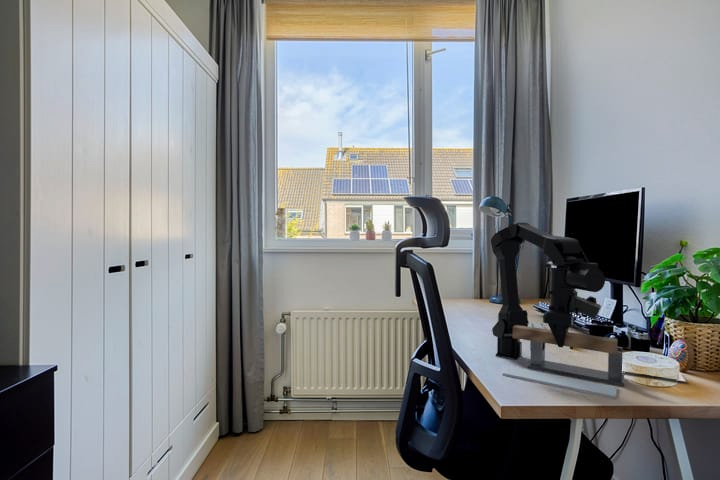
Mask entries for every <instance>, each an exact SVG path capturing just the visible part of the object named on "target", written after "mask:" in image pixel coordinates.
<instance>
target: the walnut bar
mask: <svg viewBox="0 0 720 480" xmlns="http://www.w3.org/2000/svg"><path fill="white" fill-rule="evenodd" d="M513 338H517V339H523V340H522V341H529V342H530V341H536V342H542V343H545V344H548V345H555V346H558V345H557V343H556V340H555V338H554V336H553V334H552V331H551V329H548V328H547V329H541V328H534V327H527V326H519V325H515V326H513ZM563 347H568V348H569V347H570V348H575V349H581V350H588V351H593V352H601V353H606V354H608V353H612V354H617V347H618V339H617V338H612V337H605V336H598V335H597V336H596V335H590V334H589V335H588V334H584V333H583V334H582V333H576V332H575V333H574V332H571V331H570V332H569V331H568V332H566V337H565V341H564V346H563Z"/></svg>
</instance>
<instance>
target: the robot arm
mask: <svg viewBox="0 0 720 480" xmlns="http://www.w3.org/2000/svg"><path fill="white" fill-rule="evenodd" d="M525 241H526V242H529V244H530V243H531V244H532V245H534V246H535V247H538V248H540V249H541V250H542V254H544V256H546V257H547V258H549V259H550V260H549V261H548V262H547V263H545V265H544V266H545V268H548V269H550V289H549V290H548V295H550V296H549V297H550V298H549V299H550V300H549V305H548V310H547V311H546V312H544V314H543V315H542V316H543V317H542V323H543V324H547V325H548V327H549V330H551V331H552V334H553V336H554V338H555V340H556V343H557V345H556V346H557V347H559V348H564V347H565V346H564V341H565V337H566V332H569V330H570V328H571V327H572V326H574V323H575V322H576V321H577V319H578V317H576V316H579V314H582V315H585V316H586V317H588V318H590V319H593V320H596V318H597V316H598V315H599V313H600V311H601V308H602V306H601V304H599V303H598V302H597V297H594V296H592V295H589V296H588V297H587V298H586V297H581V296H579V295H578V291H577V290H581V291H585V292H590V293H598V292H600V291H602V290H603V288H604V287H605V284H606V277H605V274H604V273H603V271H602V270H601V269H599V263H596V262H590V260H588V257H587V256H586V254H585V252H584V251H583V249H582V247H581V245H580V241H579V240H578V239H576V238H571V237H569V236H568V237H567V236H559V235H554V234H551V233H549V232H546V231H545V230H542V229H540V228H537V227H535V226H533V225H531V224H530V223H528V222H520V221H519V222H517V221H516V222H513V223H511V224H510V225H509V226H508V227H504V228H503V229H500V230H498V231H497V232H495V233H494V234H493V235H492V237H491V239H490V245H491V248H492V253H493V254H494V256H495V257H496V258H497V260H498V265H499V266H498V269H499V276H500V288H501V297H502V298H501V300H502V301H501V302H502V306H501V308H500V310H499V312H498V316H497V317H498V318H497V319H498V321H497V322H496V323H495V324H494V325H493V327H492V329H491V331H492V335H493V336H494V337H496V338H497V344H496V345H497V347H496V351H497V352H496V353H495V356H496V357H499V358H504V359H505V358H506V359H509V360H510V359H511V360H518V359H519V358H520V357H521V356H522V355H523V352H522V351H523V348H522V347H523V343H522V341H521V340H520V339H517V338H513V326H515V325H519V326H527V327H528V324H530V321H529V319H528V311H527V310H525V309H523V308H522V307H521V305H520V296H519V285H518V276H517V265H516V263H517V262H516V259H517V257H518V255H519V253H520V247H521V246H520V245H521V244H523V243H524V242H525ZM573 314H575V315H576V316H574V315H573Z"/></svg>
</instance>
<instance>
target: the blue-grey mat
mask: <svg viewBox="0 0 720 480" xmlns="http://www.w3.org/2000/svg"><path fill="white" fill-rule="evenodd" d="M502 376H506V377H511V378H514V379H519V380H524V381H528V382H534V383H539V384H543V385H547V386H552V387H556V388H557V387H558V388H561V389H562V388H563V389H567V390H572V391H576V392H581V393H585V394H586V393H587V394H590V395H595V396H598V397H599V396H601V397H603V398H608V399H612V400H613V399H615V400H617V391H618V389H617V386H615V385H610V384H605V383H600V382H595V381H590V380H585V379H580V378H575V377H570V376H564V375H563V376H562V375H559V374H554V373H549V372H544V371H539V370H534V369H529V368H524V367H517V366H514V365H513V366H512V365H508V366H507V367H506V369H505V370H504V371H503V372H502Z"/></svg>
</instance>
